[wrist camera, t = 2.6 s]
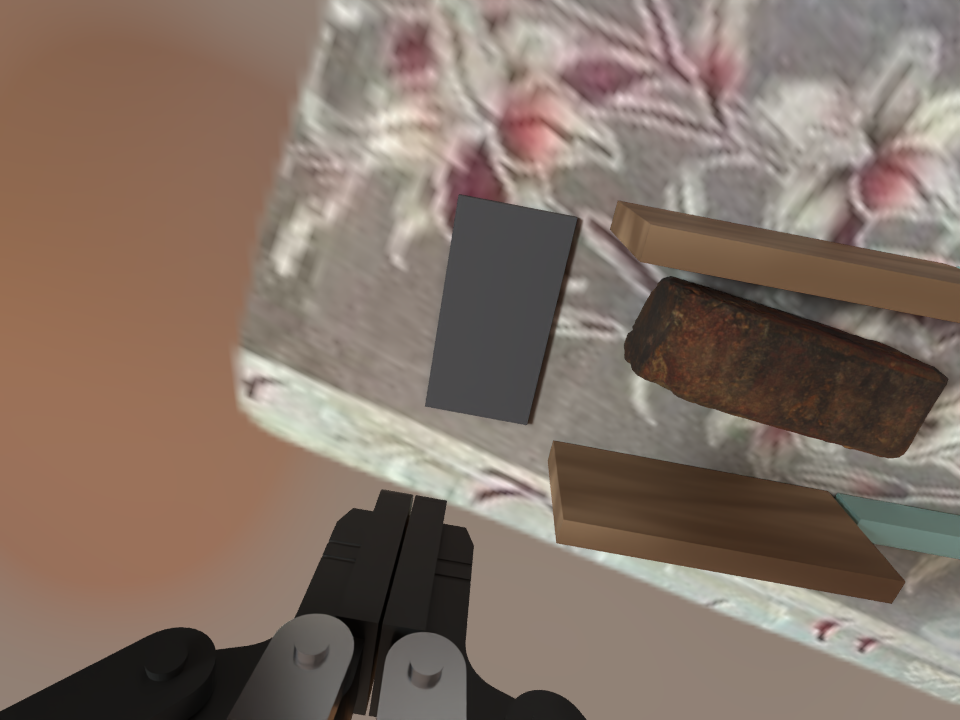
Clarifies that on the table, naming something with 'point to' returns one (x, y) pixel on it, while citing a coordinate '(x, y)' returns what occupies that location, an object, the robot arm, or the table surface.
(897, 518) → the bay
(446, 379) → the pad
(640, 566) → the table surface
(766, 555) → the trench
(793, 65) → the table surface
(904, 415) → the brick
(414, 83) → the table surface
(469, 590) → the robot arm
